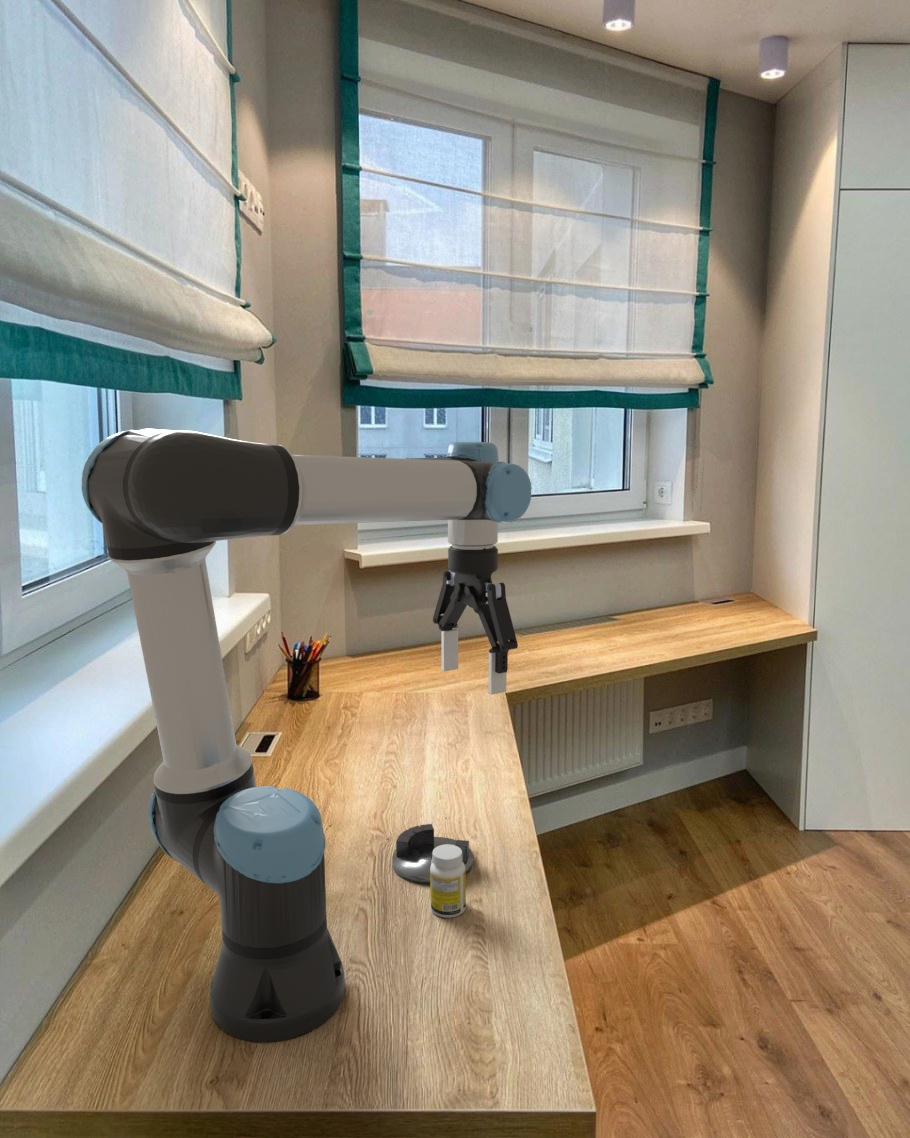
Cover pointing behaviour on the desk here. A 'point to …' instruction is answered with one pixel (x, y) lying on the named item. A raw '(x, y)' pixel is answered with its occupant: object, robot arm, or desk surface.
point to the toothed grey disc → (423, 853)
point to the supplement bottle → (447, 881)
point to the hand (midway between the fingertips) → (472, 680)
